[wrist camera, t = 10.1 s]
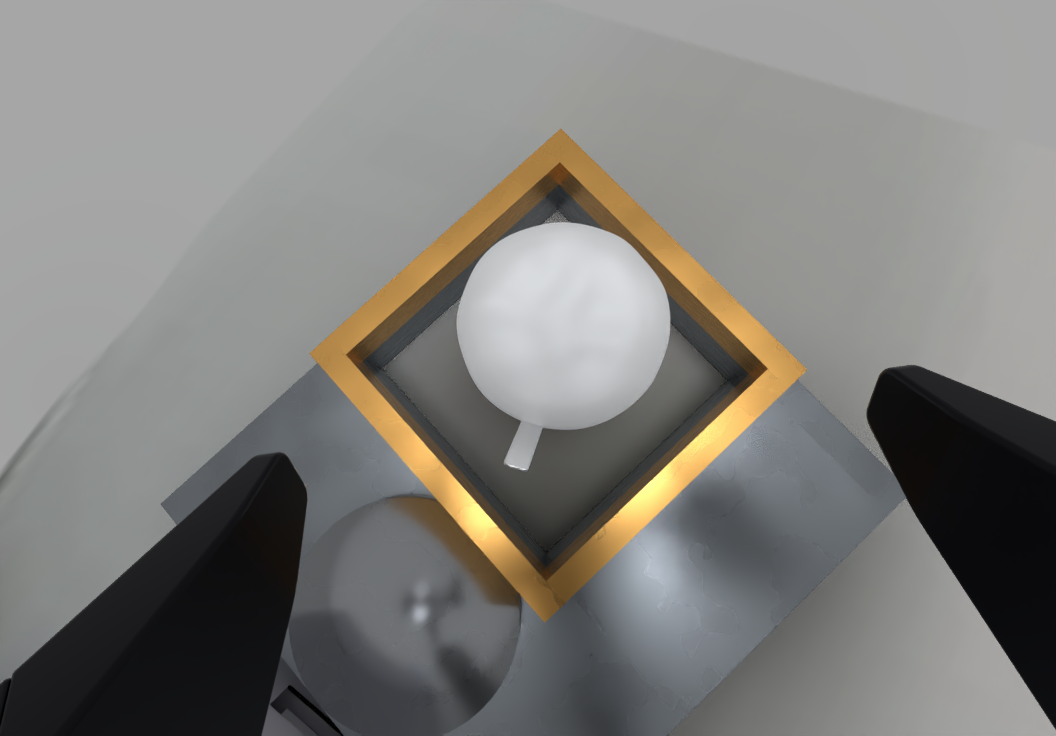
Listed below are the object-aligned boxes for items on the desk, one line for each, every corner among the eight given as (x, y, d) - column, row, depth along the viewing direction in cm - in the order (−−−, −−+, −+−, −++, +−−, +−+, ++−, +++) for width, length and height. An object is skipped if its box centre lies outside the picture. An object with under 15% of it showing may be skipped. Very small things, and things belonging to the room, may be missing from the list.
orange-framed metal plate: (493, 860, 17) (480, 967, 14) (200, 496, 19) (123, 510, 16) (871, 485, 18) (947, 497, 15) (558, 174, 20) (561, 120, 17)
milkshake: (472, 430, 19) (390, 428, 9) (516, 293, 20) (484, 152, 10) (591, 468, 19) (641, 509, 9) (633, 328, 19) (724, 218, 9)
